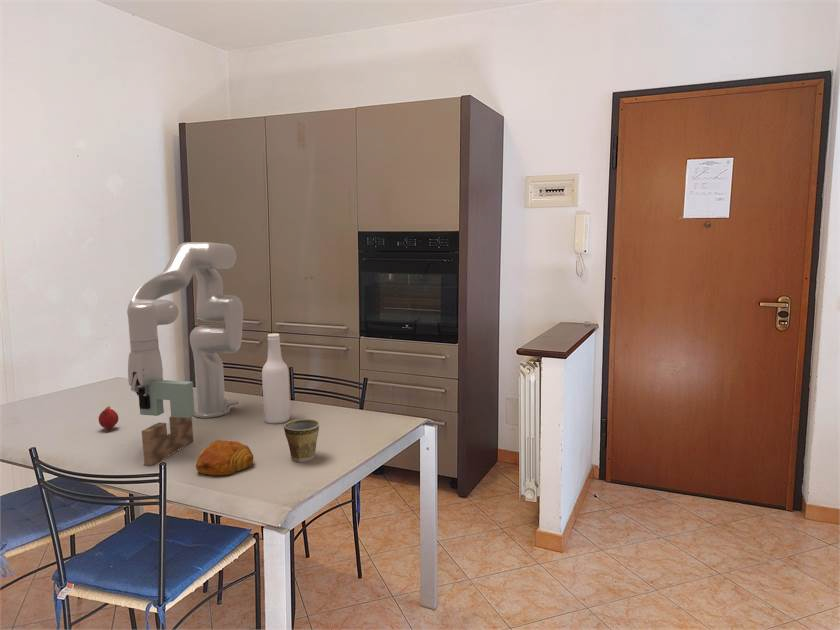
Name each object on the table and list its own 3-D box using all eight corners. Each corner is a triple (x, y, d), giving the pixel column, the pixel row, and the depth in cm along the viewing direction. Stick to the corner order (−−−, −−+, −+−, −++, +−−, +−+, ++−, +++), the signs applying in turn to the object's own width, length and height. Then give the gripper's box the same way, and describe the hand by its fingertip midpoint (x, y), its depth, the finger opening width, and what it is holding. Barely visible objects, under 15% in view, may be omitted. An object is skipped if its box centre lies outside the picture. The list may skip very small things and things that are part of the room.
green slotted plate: (140, 414, 182) (137, 381, 180) (146, 411, 185) (144, 379, 183) (188, 418, 178) (186, 384, 177) (194, 414, 181) (192, 381, 179)
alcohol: (263, 417, 215) (259, 333, 211) (288, 415, 218) (285, 331, 213) (265, 425, 207) (261, 337, 203) (291, 422, 210) (288, 335, 205)
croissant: (220, 461, 182) (216, 435, 181) (263, 462, 175) (259, 434, 175) (183, 479, 169) (179, 450, 168) (228, 480, 162) (223, 450, 162)
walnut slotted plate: (186, 440, 193) (184, 409, 191) (193, 441, 192) (191, 410, 191) (144, 465, 174) (141, 430, 172) (152, 465, 173) (149, 431, 172)
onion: (111, 433, 201) (109, 409, 199) (95, 432, 202) (93, 408, 200) (123, 427, 206) (121, 404, 205) (107, 426, 207) (105, 403, 206)
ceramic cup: (322, 462, 175) (321, 428, 173) (286, 466, 172) (285, 431, 171) (316, 446, 187) (315, 414, 186) (283, 450, 184) (281, 417, 183)
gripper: (151, 340, 188) (155, 398, 191) (113, 350, 173) (118, 414, 175) (173, 341, 187) (177, 399, 189) (137, 352, 171) (142, 416, 174)
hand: (149, 406), depth 182 cm, fingers closed on green slotted plate, 3 cm apart
